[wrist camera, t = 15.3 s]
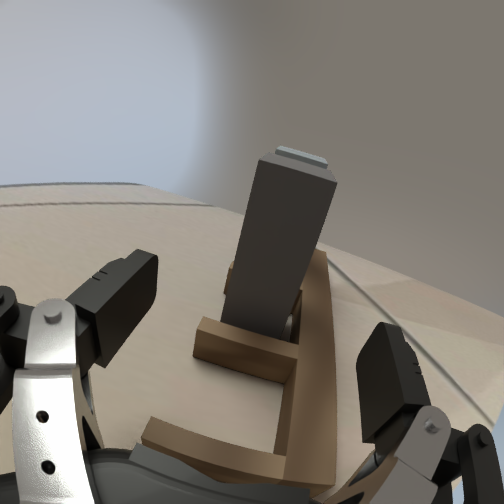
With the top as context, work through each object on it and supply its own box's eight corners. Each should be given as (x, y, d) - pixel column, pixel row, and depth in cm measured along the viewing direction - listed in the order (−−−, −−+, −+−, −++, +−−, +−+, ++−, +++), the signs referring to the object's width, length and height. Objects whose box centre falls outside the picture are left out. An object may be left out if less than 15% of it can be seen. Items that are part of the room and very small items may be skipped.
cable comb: (144, 455, 10) (140, 437, 9) (244, 249, 31) (249, 229, 30) (312, 497, 10) (335, 485, 9) (318, 272, 31) (326, 252, 30)
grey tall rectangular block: (216, 337, 19) (258, 159, 13) (230, 304, 22) (268, 152, 17) (272, 354, 19) (337, 182, 13) (278, 319, 22) (330, 170, 17)
